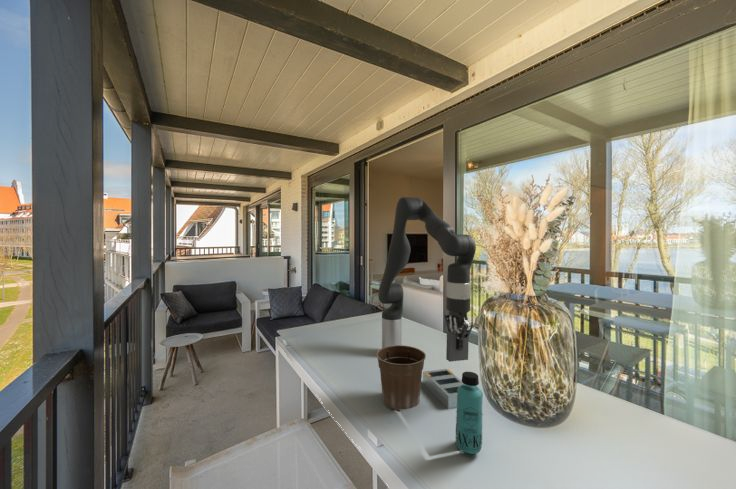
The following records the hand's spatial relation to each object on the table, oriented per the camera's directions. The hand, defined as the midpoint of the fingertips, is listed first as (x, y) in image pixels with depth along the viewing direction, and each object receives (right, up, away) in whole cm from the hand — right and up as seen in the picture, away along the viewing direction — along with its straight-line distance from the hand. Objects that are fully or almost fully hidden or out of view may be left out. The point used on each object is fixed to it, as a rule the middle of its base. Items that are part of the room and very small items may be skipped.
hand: (457, 348), depth 99 cm
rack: (-2, -18, +6) cm, 19 cm away
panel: (0, -4, 0) cm, 4 cm away
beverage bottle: (-3, -19, -21) cm, 29 cm away
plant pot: (-18, -19, +2) cm, 26 cm away
